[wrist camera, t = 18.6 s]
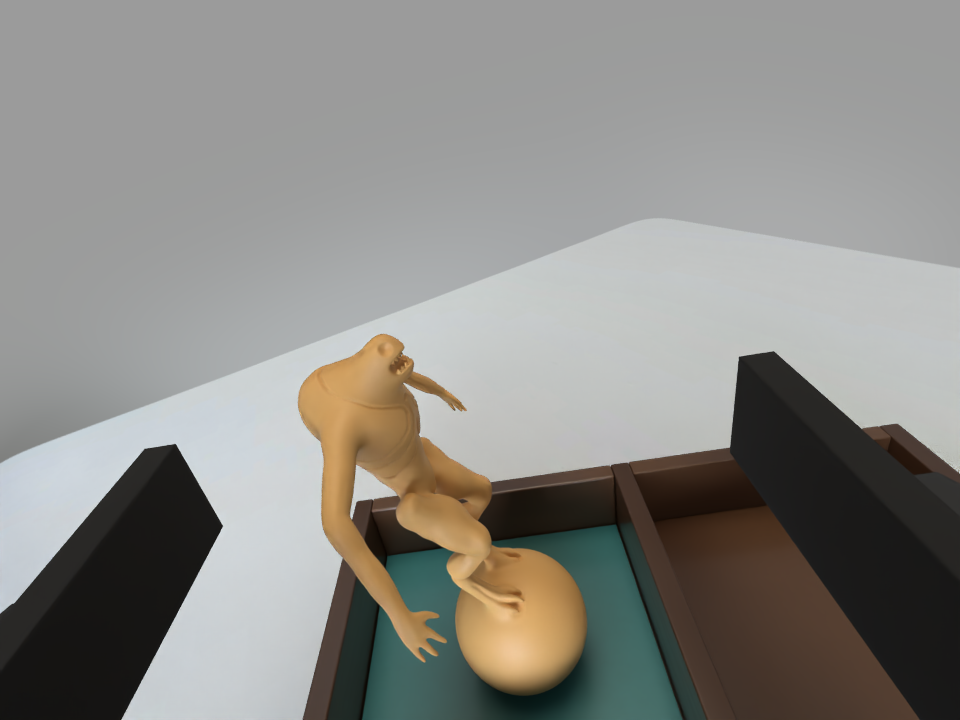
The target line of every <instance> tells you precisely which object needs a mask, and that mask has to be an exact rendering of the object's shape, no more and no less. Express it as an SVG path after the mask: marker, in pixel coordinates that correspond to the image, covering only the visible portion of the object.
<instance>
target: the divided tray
mask: <svg viewBox="0 0 960 720" xmlns="http://www.w3.org/2000/svg"><path fill="white" fill-rule="evenodd" d="M862 430H863V431H864V432H865V433H867V434H868V435H869V436H870V437H871V438H872V439H873V440H875V441H876V442H877V443H878V444H879V445H880V446H881V447H882V448H884V449H885V450H886V451H887V452H888V453H889V454H890V455H891V456H893V457H894V458H895V459H896V460H897V461H898V462H899V463H900V464H902V465H903V466H904V467H905V468H906V469H907V470H908V471H910V472H911V473H912V474H913V475H918V474H925V473H932V472H939V473H941V474H943V475H945V476H947V477H948V478H950V479H952V480H954V481H956V482H958V483H960V474H959V473H958V472H957V471H956V470H954V469H953V468H952V467H951V466H949V465H948V464H947V463H946V462H944V461H943V460H942V459H941V458H940V457H938V456H937V455H936V454H935V453H933V452H932V451H931V450H930V449H928V448H927V447H926V446H925V445H923V444H922V443H921V442H920V441H918V440H917V439H916V438H915V437H913V436H912V435H911V434H910V433H908V432H907V431H906V430H905V429H904V428H902V427H901V426H900V425H899V424H891V425H884V426H880V427H878V426H877V427H870V428H863V429H862ZM490 483H491V485H492V496H491V500H490V502H489V504H488V506H487V507H486V509H485V510H484V511H483V513H482V514H481V516H480V518H479V519H478V522H480V523H481V524H483V525H484V526H485V527H486V528H487V530H488V531H489V534H490V536H491V541H492V545H493V546H495V547H498V548H512V549H514V548H523V549H531V550H535V551H538V552H541V553H543V554H545V555H547V556H549V557H551V558H553V559H554V560H556V561H557V562H558V563H559V564H561V565H562V566H563V567H564V568H565V569H566V570H567V571H568V573H569V574H570V575H571V576H572V578H573V579H574V581H575V582H576V584H577V586H578V588H579V590H580V592H581V595H582V597H583V600H584V604H585V608H586V614H587V635H586V641H585V645H584V649H583V652H582V654H581V657H580V659H579V661H578V663H577V664H576V666H575V668H574V669H573V670H572V672H571V673H570V674H569V675H568V676H567V677H566V678H565V679H564V680H563V681H562V682H561V683H560V684H558V685H557V686H555V687H554V688H552V689H550V690H548V691H545V692H543V693H540V694H536V695H529V696H518V695H512V694H507V693H504V692H501V691H499V690H497V689H495V688H493V687H491V686H490V685H488V684H487V683H486V682H484V681H483V680H482V679H481V678H480V677H479V676H478V675H477V674H476V673H475V672H474V671H473V670H472V668H471V667H470V666H469V664H468V663H467V661H466V659H465V657H464V655H463V653H462V651H461V648H460V645H459V642H458V638H457V633H456V625H455V614H456V606H457V601H458V597H459V594H460V591H461V589H462V588H460V587H459V586H458V585H456V584H455V583H454V581H453V580H452V577H451V575H450V574H449V573H448V570H447V562H448V560H449V558H450V556H451V555H452V554H453V553H455V552H453V551H450V550H448V549H446V548H444V547H442V546H440V545H438V544H437V543H435V542H433V541H431V540H428V539H425V538H423V537H421V536H420V535H418V534H417V533H416V532H413V531H410V530H408V529H406V528H404V527H403V526H402V525H401V524H400V523H399V522H398V520H397V517H396V509H397V506H398V504H399V502H400V501H401V500H400V497H399V496H392V497H385V498H378V499H374V501H373V500H372V499H371V500H364V501H358V502H356V506H355V510H354V514H353V519H352V522H353V523H354V525H355V526H356V528H357V529H358V531H359V533H360V534H361V536H362V537H363V539H364V541H365V543H366V545H367V546H368V548H369V549H370V551H371V552H372V553H373V555H374V556H375V557H376V558H377V559H378V560H379V562H380V563H381V564H382V565H383V567H384V568H385V569H386V571H387V572H388V574H389V575H390V577H391V578H392V580H393V582H394V584H395V586H396V588H397V590H398V592H399V593H400V595H401V597H402V599H403V601H404V603H405V605H406V607H407V608H408V609H409V611H411V612H421V611H430V612H434V613H436V614H438V615H439V618H431V619H428V620H426V622H425V624H426V626H428V627H429V628H431V629H432V630H434V631H435V632H436V633H437V634H439V635H440V636H442V637H444V638H445V639H446V640H447V642H446V643H442V642H439V641H437V640H434V639H432V638H428V639H426V641H427V642H428V643H429V644H430V645H431V646H432V647H433V648H434V649H435V650H436V651H437V652H438V656H434V655H432V654H430V653H428V652H427V651H426V650H425V649H423V648H422V647H419V651H420V653H421V654H422V655H423V657H424V658H425V660H426V662H422V661H421V660H420V659H418V658H417V657H416V656H415V655H414V654H413V653H412V652H411V651H410V650H409V649H408V648H407V647H406V645H405V644H404V643H403V642H402V640H401V638H400V637H399V635H398V633H397V632H396V630H395V628H394V626H393V624H392V621H391V619H390V618H389V616H388V614H387V613H386V612H385V610H384V609H383V608H382V607H381V606H380V605H379V604H378V603H377V602H376V601H375V600H374V599H373V597H372V596H371V595H370V593H369V592H368V591H367V589H366V588H365V587H364V585H363V584H362V583H361V582H360V580H359V579H358V577H357V576H356V574H355V573H354V571H353V570H352V568H351V567H350V566H349V564H348V563H347V562H346V561H345V560H344V558H343V559H342V563H341V567H340V571H339V575H338V579H337V583H336V587H335V591H334V595H333V599H332V603H331V607H330V611H329V615H328V620H327V624H326V628H325V632H324V636H323V640H322V644H321V648H320V652H319V656H318V660H317V664H316V668H315V672H314V676H313V680H312V684H311V688H310V692H309V696H308V700H307V704H306V708H305V712H304V716H303V720H920V719H919V718H918V716H917V715H916V714H915V712H914V711H913V709H912V708H911V707H910V705H909V704H908V702H907V701H906V700H905V698H904V697H903V695H902V694H901V693H900V691H899V690H898V688H897V687H896V686H895V684H894V683H893V681H892V680H891V678H890V677H889V676H888V674H887V673H886V671H885V670H884V669H883V667H882V666H881V664H880V663H879V662H878V660H877V659H876V657H875V656H874V655H873V653H872V652H871V650H870V649H869V648H868V646H867V645H866V643H865V642H864V640H863V639H862V638H861V636H860V635H859V633H858V632H857V631H856V629H855V628H854V626H853V625H852V624H851V622H850V621H849V619H848V618H847V617H846V615H845V614H844V612H843V611H842V610H841V608H840V607H839V605H838V604H837V603H836V601H835V600H834V598H833V597H832V595H831V594H830V593H829V591H828V590H827V588H826V587H825V586H824V584H823V583H822V581H821V580H820V579H819V577H818V576H817V574H816V573H815V572H814V570H813V569H812V567H811V566H810V565H809V563H808V562H807V560H806V559H805V557H804V556H803V555H802V553H801V552H800V550H799V549H798V548H797V546H796V545H795V543H794V542H793V541H792V539H791V538H790V536H789V535H788V534H787V532H786V531H785V529H784V528H783V527H782V525H781V524H780V522H779V521H778V519H777V518H776V517H775V515H774V514H773V512H772V511H771V510H770V508H769V507H768V505H767V504H766V503H765V501H764V500H763V498H762V497H761V496H760V494H759V493H758V491H757V490H756V489H755V487H754V486H753V484H752V483H751V481H750V480H749V479H748V477H747V476H746V474H745V473H744V472H743V470H742V469H741V467H740V466H739V465H738V463H737V462H736V460H735V459H734V458H733V456H732V455H731V453H730V448H724V449H717V450H710V451H703V452H696V453H689V454H682V455H675V456H668V457H661V458H654V459H647V460H640V461H633V462H629V464H628V463H620V464H613V465H611V467H610V466H609V465H608V466H601V467H594V468H587V469H580V470H573V471H566V472H559V473H552V474H545V475H538V476H531V477H524V478H517V479H510V480H503V481H496V482H490ZM434 494H437V493H434ZM458 501H459V502H460V503H461V504H462V503H465V502H468V501H467V500H465V499H460V500H458Z"/></svg>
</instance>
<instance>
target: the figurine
mask: <svg viewBox="0 0 960 720" xmlns="http://www.w3.org/2000/svg"><path fill="white" fill-rule="evenodd" d="M403 349H404V345H403V343H402V342H400V341H399V340H398V339H396V338H394V337H392V336H390V335H387V334H380V335H377V336H375V337H374V338H372V339H371V340H370V341H369V342H368V343H367V344H366V345H365V346H364V347H363V349H362V350H360V351H359V352H358V353H356V354H355V355H353V356H352V357H349V358H346V359H343V360H341V361H338V362H335V363H332V364H329V365H325V366H322V367H320V368H318V369H317V370H315V371H314V372H313V373H312V374H311V375H310V376H309V377H308V378H307V379H306V380H305V381H304V383H303V384H302V386H301V388H300V391H299V396H298V408H299V412H300V415H301V418H302V420H303V422H304V424H305V425H306V427H307V428H308V430H309V431H310V432H311V433H312V434H313V435H314V436H315V437H316V438H317V439H318V440H319V441H320V442H321V447H322V452H323V457H324V468H323V477H322V502H321V516H322V526H323V530H324V532H325V535H326V536H327V538H328V540H329V542H330V543H331V544H332V546H333V547H334V548H335V550H336V551H337V552H338V553H339V554H340V555H341V556H342V557H343V558H344V560H345V561H346V562H347V563H348V564H349V566H350V567H351V568H352V570H353V571H354V573H355V574H356V576H357V577H358V579H359V580H360V582H361V583H362V584H363V585H364V587H365V588H366V589H367V591H368V592H369V593H370V595H371V596H372V597H373V599H374V600H375V601H376V602H377V603H378V604H379V605H380V606H381V607H382V608H383V609H384V610H385V612H386V613H387V614H388V616H389V618H390V619H391V621H392V624H393V626H394V628H395V630H396V632H397V633H398V635H399V637H400V638H401V640H402V642H403V643H404V644H405V645H406V647H407V648H408V649H409V650H410V651H411V652H412V653H413V654H414V655H415V656H416V657H417V658H418V659H420V660H421V661H422V662H426V660H425V658H424V657H423V655H422V654H421V653H420V651H419V647H422V648H423V649H425V650H426V651H427V652H428V653H430V654H432V655H434V656H438V652H437V651H436V650H435V649H434V648H433V647H432V646H431V645H430V644H429V643H428V642H427V641H426V639H428V638H432V639H434V640H437V641H439V642H442V643H446V642H447V640H446V639H445V638H444V637H442V636H440V635H439V634H437V633H436V632H435V631H434V630H432V629H431V628H429V627H428V626H426V624H425V622H426V620H428V619H431V618H439V615H438V614H436V613H434V612H430V611H421V612H411V611H409V609H408V608H407V607H406V605H405V603H404V601H403V599H402V597H401V595H400V593H399V592H398V590H397V588H396V586H395V584H394V582H393V580H392V578H391V577H390V575H389V574H388V572H387V571H386V569H385V568H384V567H383V565H382V564H381V563H380V562H379V560H378V559H377V558H376V557H375V556H374V555H373V553H372V552H371V551H370V549H369V548H368V546H367V545H366V543H365V541H364V539H363V537H362V536H361V534H360V533H359V531H358V529H357V528H356V526H355V525H354V523H353V522H352V520H351V518H350V509H351V503H352V498H353V489H354V481H355V470H356V465H358V466H360V467H362V468H363V469H365V470H367V471H368V472H370V473H372V474H373V475H374V476H375V477H376V478H377V479H378V480H379V481H380V482H382V483H383V484H385V485H387V486H388V487H390V488H391V489H393V490H394V491H395V492H396V493H397V495H398V496H399V497H400V500H401V501H400V502H399V504H398V506H397V509H396V517H397V520H398V522H399V523H400V524H401V525H402V526H403V527H404V528H406V529H408V530H410V531H413V532H416V533H417V534H418V535H420V536H421V537H423V538H425V539H428V540H431V541H433V542H435V543H437V544H438V545H440V546H442V547H444V548H446V549H448V550H450V551H453V552H455V553H453V554H452V555H451V556H450V558H449V560H448V562H447V570H448V573H449V574H450V575H451V577H452V580H453V581H454V583H455V584H456V585H458V586H459V587H460V588H462V589H461V591H460V594H459V597H458V601H457V606H456V614H455V625H456V633H457V638H458V642H459V645H460V648H461V651H462V653H463V655H464V657H465V659H466V661H467V663H468V664H469V666H470V667H471V668H472V670H473V671H474V672H475V673H476V674H477V675H478V676H479V677H480V678H481V679H482V680H483V681H484V682H486V683H487V684H488V685H490V686H491V687H493V688H495V689H497V690H499V691H501V692H504V693H507V694H512V695H518V696H529V695H536V694H540V693H543V692H545V691H548V690H550V689H552V688H554V687H555V686H557V685H558V684H560V683H561V682H562V681H563V680H564V679H565V678H566V677H567V676H568V675H569V674H570V673H571V672H572V670H573V669H574V668H575V666H576V664H577V663H578V661H579V659H580V657H581V654H582V652H583V649H584V645H585V641H586V635H587V614H586V608H585V604H584V600H583V597H582V595H581V592H580V590H579V588H578V586H577V584H576V582H575V581H574V579H573V578H572V576H571V575H570V574H569V573H568V571H567V570H566V569H565V568H564V567H563V566H562V565H561V564H559V563H558V562H557V561H556V560H554V559H553V558H551V557H549V556H547V555H545V554H543V553H541V552H538V551H535V550H531V549H523V548H514V549H512V548H498V547H495V546H493V545H492V541H491V536H490V534H489V531H488V530H487V528H486V527H485V526H484V525H483V524H481V523H480V522H478V519H479V518H480V516H481V514H482V513H483V511H484V510H485V509H486V507H487V506H488V504H489V502H490V500H491V496H492V485H491V483H490V481H489V480H488V479H487V478H486V477H485V476H482V475H479V474H476V473H474V472H472V471H471V470H469V469H467V468H466V467H464V466H463V465H461V464H459V463H458V462H456V461H454V460H452V459H450V458H449V457H447V456H446V455H445V454H444V453H443V452H442V451H441V450H440V449H439V448H438V447H436V446H435V445H433V444H432V443H431V442H430V440H428V439H427V438H424V437H420V436H419V433H420V416H419V411H418V405H417V402H416V400H415V399H414V396H413V395H412V393H411V392H410V391H409V390H408V389H407V388H406V387H405V385H404V384H403V383H406V384H408V385H410V386H412V387H414V388H416V389H418V390H421V391H423V392H426V393H430V394H434V395H437V396H439V397H441V398H442V399H443V400H444V401H446V402H447V403H448V404H449V406H450V407H451V408H452V409H453V410H454V411H455V408H454V406H455V407H456V408H458V409H459V410H460V411H462V409H463V410H464V411H467V410H466V408H465V407H464V406H463V405H462V404H461V402H460V401H459V400H458V399H457V398H455V397H454V396H453V395H452V394H451V393H449V392H448V391H447V390H445V389H444V388H443V387H441V386H440V385H438V384H437V383H436V382H434V381H433V380H431V379H430V378H428V377H425V376H423V375H421V374H418V373H416V372H413V367H414V362H413V360H412V359H410V358H409V357H407V356H405V355H403V353H402V351H403ZM400 354H402V357H401V355H400ZM452 404H453V405H454V406H453V405H452ZM434 493H437V494H434ZM460 499H465V500H467V501H468V502H465V503H462V504H461V503H460V502H459V501H458V500H460Z"/></svg>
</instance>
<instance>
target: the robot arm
mask: <svg viewBox="0 0 960 720" xmlns="http://www.w3.org/2000/svg"><path fill="white" fill-rule="evenodd" d="M730 453H731V455H732V456H733V458H734V459H735V460H736V462H737V463H738V465H739V466H740V467H741V469H742V470H743V472H744V473H745V474H746V476H747V477H748V479H749V480H750V481H751V483H752V484H753V486H754V487H755V489H756V490H757V491H758V493H759V494H760V496H761V497H762V498H763V500H764V501H765V503H766V504H767V505H768V507H769V508H770V510H771V511H772V512H773V514H774V515H775V517H776V518H777V519H778V521H779V522H780V524H781V525H782V527H783V528H784V529H785V531H786V532H787V534H788V535H789V536H790V538H791V539H792V541H793V542H794V543H795V545H796V546H797V548H798V549H799V550H800V552H801V553H802V555H803V556H804V557H805V559H806V560H807V562H808V563H809V565H810V566H811V567H812V569H813V570H814V572H815V573H816V574H817V576H818V577H819V579H820V580H821V581H822V583H823V584H824V586H825V587H826V588H827V590H828V591H829V593H830V594H831V595H832V597H833V598H834V600H835V601H836V603H837V604H838V605H839V607H840V608H841V610H842V611H843V612H844V614H845V615H846V617H847V618H848V619H849V621H850V622H851V624H852V625H853V626H854V628H855V629H856V631H857V632H858V633H859V635H860V636H861V638H862V639H863V640H864V642H865V643H866V645H867V646H868V648H869V649H870V650H871V652H872V653H873V655H874V656H875V657H876V659H877V660H878V662H879V663H880V664H881V666H882V667H883V669H884V670H885V671H886V673H887V674H888V676H889V677H890V678H891V680H892V681H893V683H894V684H895V686H896V687H897V688H898V690H899V691H900V693H901V694H902V695H903V697H904V698H905V700H906V701H907V702H908V704H909V705H910V707H911V708H912V709H913V711H914V712H915V714H916V715H917V716H918V718H919V719H920V720H960V483H958V482H956V481H954V480H952V479H950V478H948V477H947V476H945V475H943V474H941V473H939V472H932V473H925V474H918V475H913V474H912V473H911V472H910V471H908V470H907V469H906V468H905V467H904V466H903V465H902V464H900V463H899V462H898V461H897V460H896V459H895V458H894V457H893V456H891V455H890V454H889V453H888V452H887V451H886V450H885V449H884V448H882V447H881V446H880V445H879V444H878V443H877V442H876V441H875V440H873V439H872V438H871V437H870V436H869V435H868V434H867V433H865V432H864V431H863V430H862V429H861V428H860V427H859V426H858V425H856V424H855V423H854V422H853V421H852V420H851V419H850V418H849V417H847V416H846V415H845V414H844V413H843V412H842V411H841V410H840V409H838V408H837V407H836V406H835V405H834V404H833V403H832V402H831V401H829V400H828V399H827V398H826V397H825V396H824V395H823V394H821V393H820V392H819V391H818V390H817V389H816V388H815V387H814V386H812V385H811V384H810V383H809V382H808V381H807V380H806V379H805V378H803V377H802V376H801V375H800V374H799V373H798V372H797V371H796V370H794V369H793V368H792V367H791V366H790V365H789V364H788V363H786V362H785V361H784V360H783V359H782V358H781V357H780V356H779V355H777V354H776V353H775V352H774V351H773V352H767V353H760V354H754V355H747V356H741V357H739V362H738V372H737V383H736V393H735V404H734V414H733V424H732V435H731V445H730ZM222 527H223V525H222V524H221V522H220V520H219V518H218V517H217V515H216V513H215V511H214V510H213V508H212V506H211V504H210V503H209V501H208V499H207V498H206V496H205V494H204V492H203V491H202V489H201V487H200V485H199V484H198V482H197V480H196V478H195V477H194V475H193V473H192V471H191V470H190V468H189V466H188V465H187V463H186V461H185V459H184V458H183V456H182V454H181V452H180V451H179V449H178V447H177V445H176V444H173V445H167V446H160V447H154V448H148V449H144V450H143V452H142V453H141V454H140V455H139V456H138V458H137V459H136V460H135V461H134V462H133V464H132V465H131V466H130V467H129V468H128V469H127V471H126V472H125V473H124V474H123V475H122V477H121V478H120V479H119V480H118V481H117V482H116V484H115V485H114V486H113V487H112V488H111V490H110V491H109V492H108V493H107V494H106V496H105V497H104V498H103V499H102V500H101V501H100V503H99V504H98V505H97V506H96V507H95V509H94V510H93V511H92V512H91V513H90V514H89V516H88V517H87V518H86V519H85V520H84V522H83V523H82V524H81V525H80V526H79V528H78V529H77V530H76V531H75V532H74V533H73V535H72V536H71V537H70V538H69V539H68V541H67V542H66V543H65V544H64V545H63V546H62V548H61V549H60V550H59V551H58V552H57V554H56V555H55V556H54V557H53V558H52V560H51V561H50V562H49V563H48V564H47V565H46V567H45V568H44V569H43V570H42V571H41V573H40V574H39V575H38V576H37V577H36V578H35V580H34V581H33V582H32V583H31V584H30V586H29V587H28V588H27V589H26V590H25V592H24V593H23V594H22V595H21V596H20V597H19V599H18V600H17V601H16V602H15V603H14V604H11V605H10V606H9V607H8V608H7V609H5V610H4V611H3V612H2V613H1V614H0V720H121V719H122V717H123V715H124V713H125V712H126V710H127V708H128V706H129V704H130V702H131V700H132V698H133V696H134V694H135V693H136V691H137V689H138V687H139V685H140V683H141V681H142V679H143V677H144V675H145V674H146V672H147V670H148V668H149V666H150V664H151V662H152V660H153V658H154V656H155V655H156V653H157V651H158V649H159V647H160V645H161V643H162V641H163V639H164V637H165V636H166V634H167V632H168V630H169V628H170V626H171V624H172V622H173V620H174V618H175V617H176V615H177V613H178V611H179V609H180V607H181V605H182V603H183V601H184V599H185V598H186V596H187V594H188V592H189V590H190V588H191V586H192V584H193V582H194V580H195V579H196V577H197V575H198V573H199V571H200V569H201V567H202V565H203V563H204V561H205V560H206V558H207V556H208V554H209V552H210V550H211V548H212V546H213V544H214V542H215V541H216V539H217V537H218V535H219V533H220V531H221V529H222Z"/></svg>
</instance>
